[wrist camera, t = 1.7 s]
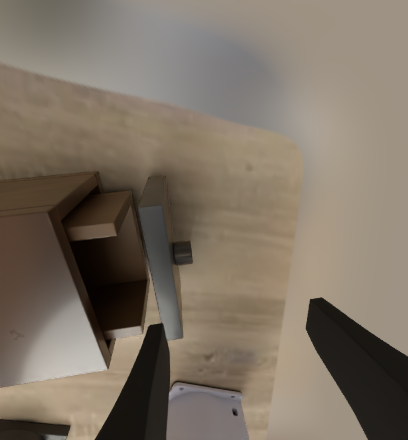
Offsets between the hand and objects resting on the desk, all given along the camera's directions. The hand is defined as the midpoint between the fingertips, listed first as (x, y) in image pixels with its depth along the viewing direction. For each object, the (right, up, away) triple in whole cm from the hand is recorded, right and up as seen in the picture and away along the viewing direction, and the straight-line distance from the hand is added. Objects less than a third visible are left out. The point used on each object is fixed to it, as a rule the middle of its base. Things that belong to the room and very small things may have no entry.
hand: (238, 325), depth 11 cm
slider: (-9, +3, +7) cm, 12 cm away
